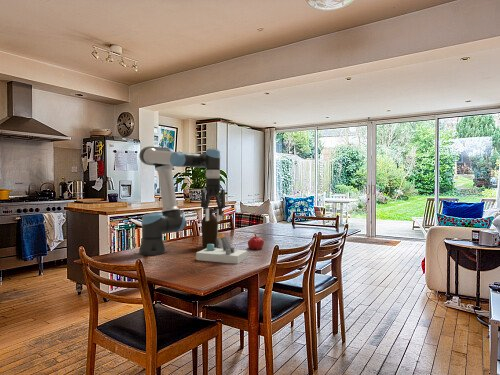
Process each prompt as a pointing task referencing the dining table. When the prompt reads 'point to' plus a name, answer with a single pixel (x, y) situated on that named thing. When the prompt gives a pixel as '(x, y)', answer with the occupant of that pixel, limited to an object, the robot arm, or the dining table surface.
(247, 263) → the dining table surface
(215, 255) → the panel
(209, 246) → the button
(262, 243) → the pomegranate
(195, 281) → the dining table surface
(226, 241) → the lever
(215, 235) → the olive oil
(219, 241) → the electrical switch
